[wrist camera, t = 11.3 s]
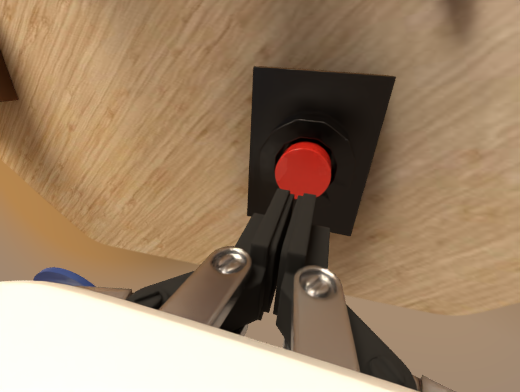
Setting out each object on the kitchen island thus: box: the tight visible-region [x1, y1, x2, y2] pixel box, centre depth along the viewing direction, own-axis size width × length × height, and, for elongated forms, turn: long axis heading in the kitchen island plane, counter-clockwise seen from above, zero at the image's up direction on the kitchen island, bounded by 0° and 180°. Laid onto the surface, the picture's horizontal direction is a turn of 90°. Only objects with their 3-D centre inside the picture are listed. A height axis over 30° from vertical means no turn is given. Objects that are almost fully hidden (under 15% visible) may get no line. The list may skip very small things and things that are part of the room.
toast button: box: [275, 141, 332, 199], centre depth 17 cm, size 4×4×2 cm
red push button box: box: [247, 66, 396, 236], centre depth 20 cm, size 12×9×5 cm
